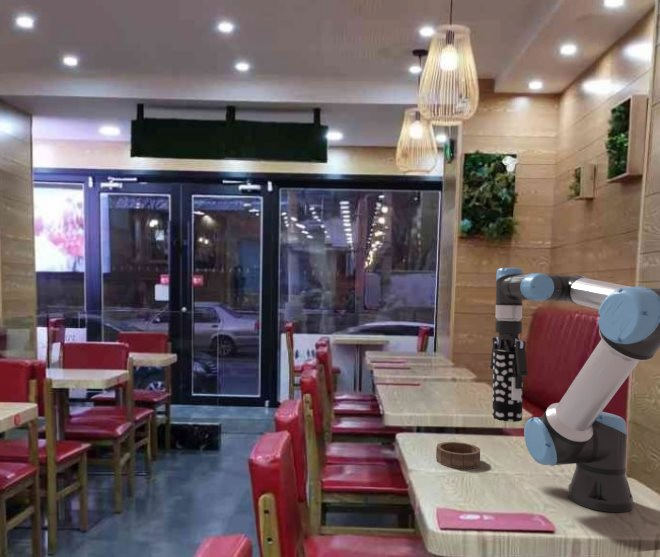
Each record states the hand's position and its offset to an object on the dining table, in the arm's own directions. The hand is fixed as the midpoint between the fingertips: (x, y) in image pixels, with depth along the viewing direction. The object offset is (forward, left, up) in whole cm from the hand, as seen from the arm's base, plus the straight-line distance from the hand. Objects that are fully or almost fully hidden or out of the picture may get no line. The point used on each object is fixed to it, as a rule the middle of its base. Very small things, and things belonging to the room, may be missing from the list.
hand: (507, 396), depth 159 cm
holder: (+14, +8, -23) cm, 28 cm away
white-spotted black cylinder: (0, 0, -7) cm, 7 cm away
